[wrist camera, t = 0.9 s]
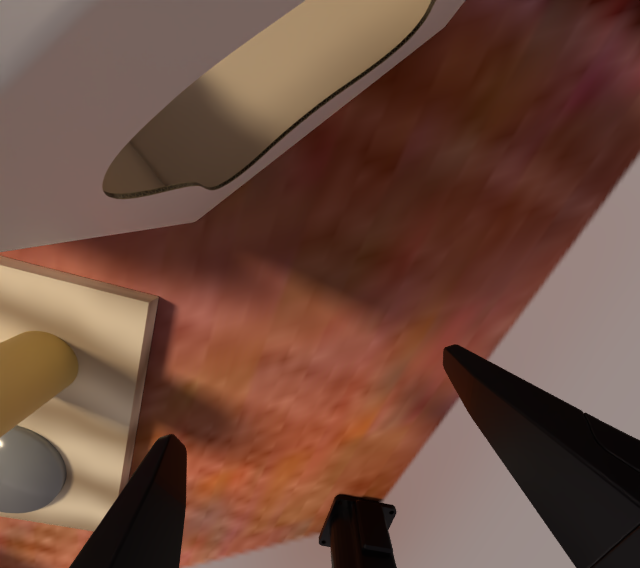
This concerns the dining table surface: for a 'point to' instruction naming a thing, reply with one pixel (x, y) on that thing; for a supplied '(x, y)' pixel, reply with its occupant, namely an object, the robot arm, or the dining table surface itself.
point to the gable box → (173, 100)
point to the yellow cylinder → (32, 374)
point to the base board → (84, 381)
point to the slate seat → (28, 471)
